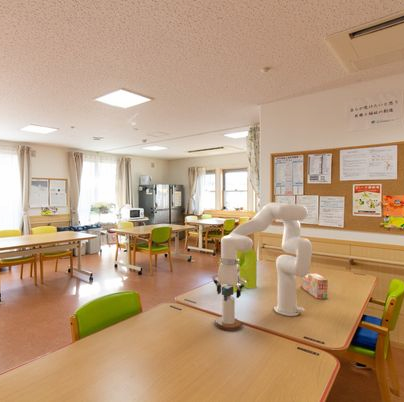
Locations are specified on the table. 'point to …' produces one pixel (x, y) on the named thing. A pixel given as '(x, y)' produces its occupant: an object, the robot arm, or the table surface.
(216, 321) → the base
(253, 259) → the decorative object
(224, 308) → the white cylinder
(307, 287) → the pink patterned box
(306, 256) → the robot arm
